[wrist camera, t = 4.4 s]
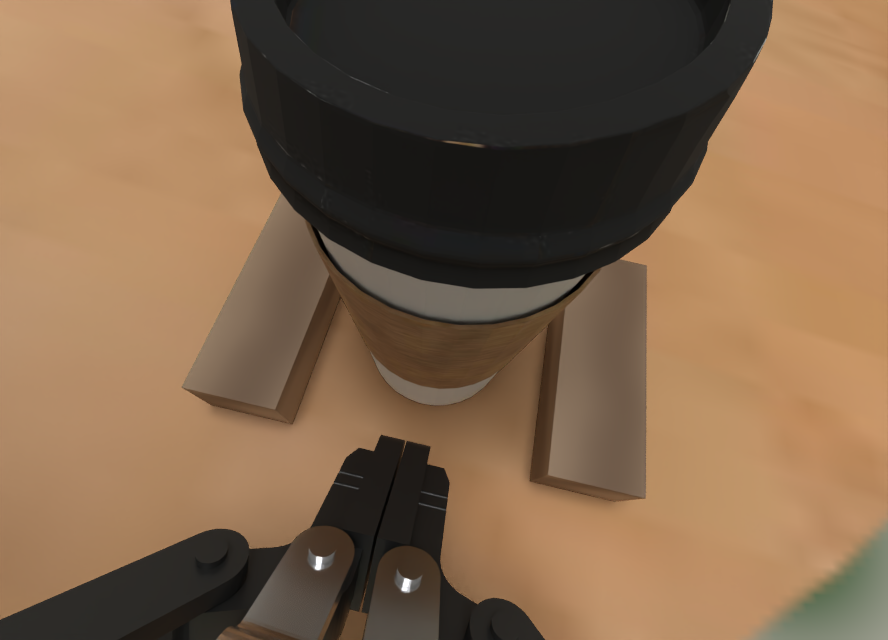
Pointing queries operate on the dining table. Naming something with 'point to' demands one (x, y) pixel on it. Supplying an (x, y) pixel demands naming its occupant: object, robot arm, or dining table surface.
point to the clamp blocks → (563, 380)
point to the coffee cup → (482, 154)
